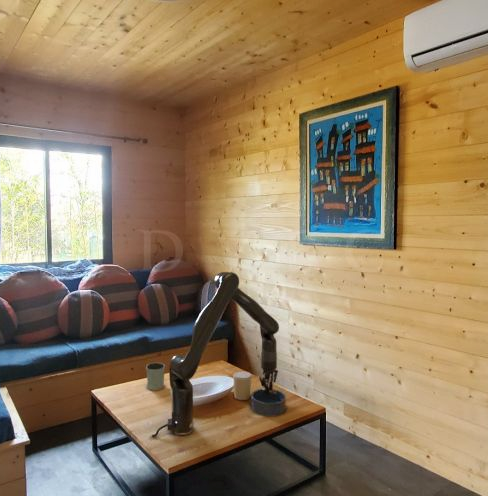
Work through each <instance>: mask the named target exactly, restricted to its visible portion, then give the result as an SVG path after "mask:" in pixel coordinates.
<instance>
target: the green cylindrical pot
mask: <svg viewBox="0 0 488 496" xmlns="http://www.w3.org/2000/svg"><path fill="white" fill-rule="evenodd" d="M165 369H166V365H165V364H164V363H163V362H158V361H157V362H151V363H148V364H146V366H145V370H146V371H145V372H146V380H147V381H146V382H147V384H146V385H147V389H148V390H150V391H161V390H162V389H164V387H165V385H164V383H165V382H164V381H165Z"/></svg>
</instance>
